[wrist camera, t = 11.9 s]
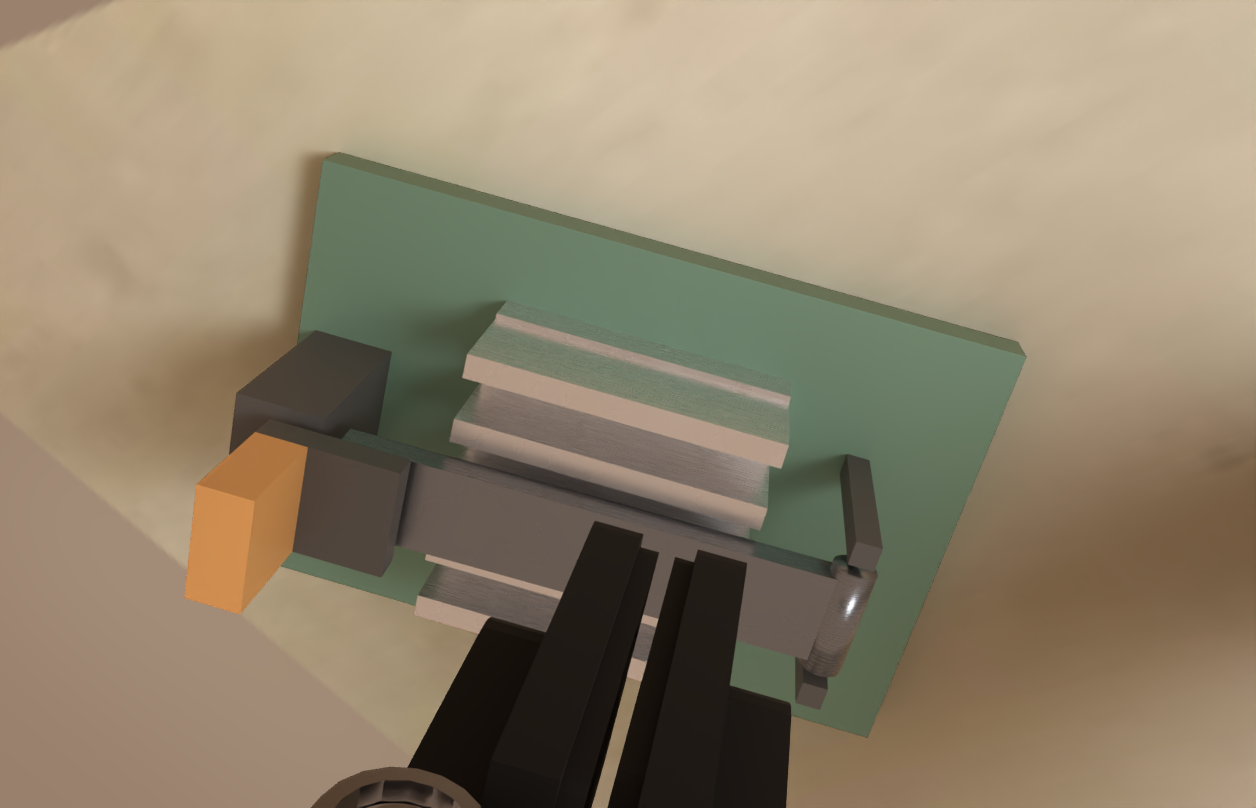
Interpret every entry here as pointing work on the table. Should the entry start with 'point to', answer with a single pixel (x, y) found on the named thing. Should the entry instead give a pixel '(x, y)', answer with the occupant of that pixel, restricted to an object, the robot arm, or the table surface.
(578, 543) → the strap
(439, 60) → the table surface
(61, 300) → the table surface
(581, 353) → the heat sink
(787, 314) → the board
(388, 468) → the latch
